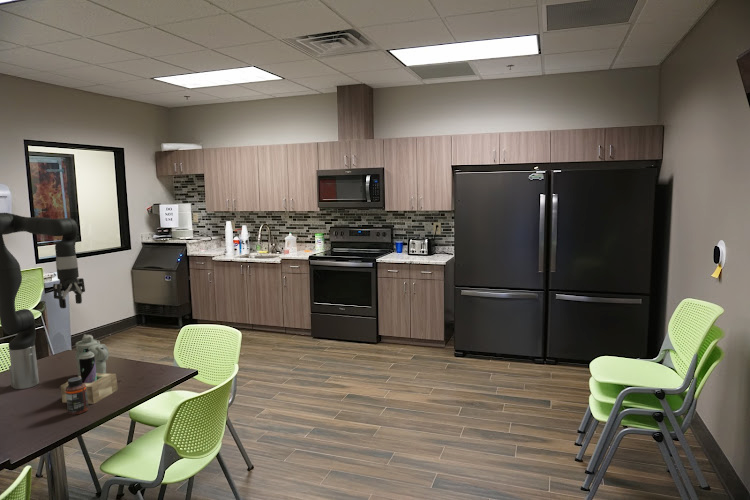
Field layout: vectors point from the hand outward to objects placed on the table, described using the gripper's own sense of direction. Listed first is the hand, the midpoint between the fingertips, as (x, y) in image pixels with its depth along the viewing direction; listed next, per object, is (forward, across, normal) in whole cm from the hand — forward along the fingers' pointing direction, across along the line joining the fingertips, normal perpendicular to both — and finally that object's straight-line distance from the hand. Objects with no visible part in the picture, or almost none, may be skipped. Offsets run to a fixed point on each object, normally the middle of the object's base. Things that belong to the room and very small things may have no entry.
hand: (71, 305), depth 210 cm
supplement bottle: (+36, +20, +16) cm, 44 cm away
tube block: (+36, +6, +10) cm, 38 cm away
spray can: (+36, +6, +10) cm, 38 cm away
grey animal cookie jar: (+36, -15, -5) cm, 40 cm away
